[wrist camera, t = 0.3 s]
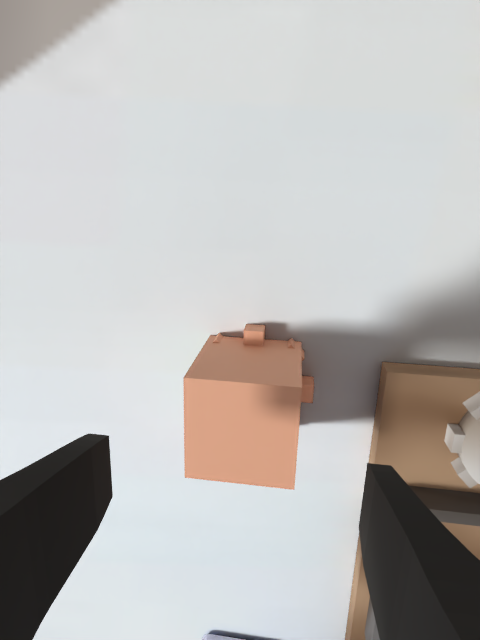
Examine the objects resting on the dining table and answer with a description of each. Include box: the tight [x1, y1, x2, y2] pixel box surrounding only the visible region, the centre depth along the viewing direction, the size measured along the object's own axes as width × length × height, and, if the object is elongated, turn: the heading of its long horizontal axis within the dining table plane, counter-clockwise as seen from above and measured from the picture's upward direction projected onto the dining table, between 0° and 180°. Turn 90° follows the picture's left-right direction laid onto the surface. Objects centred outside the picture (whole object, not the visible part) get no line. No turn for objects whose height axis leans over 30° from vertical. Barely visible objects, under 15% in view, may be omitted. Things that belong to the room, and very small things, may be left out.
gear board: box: [345, 362, 480, 640], centre depth 21 cm, size 21×11×3 cm, turn 178°
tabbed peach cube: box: [184, 324, 314, 490], centre depth 19 cm, size 6×6×5 cm
